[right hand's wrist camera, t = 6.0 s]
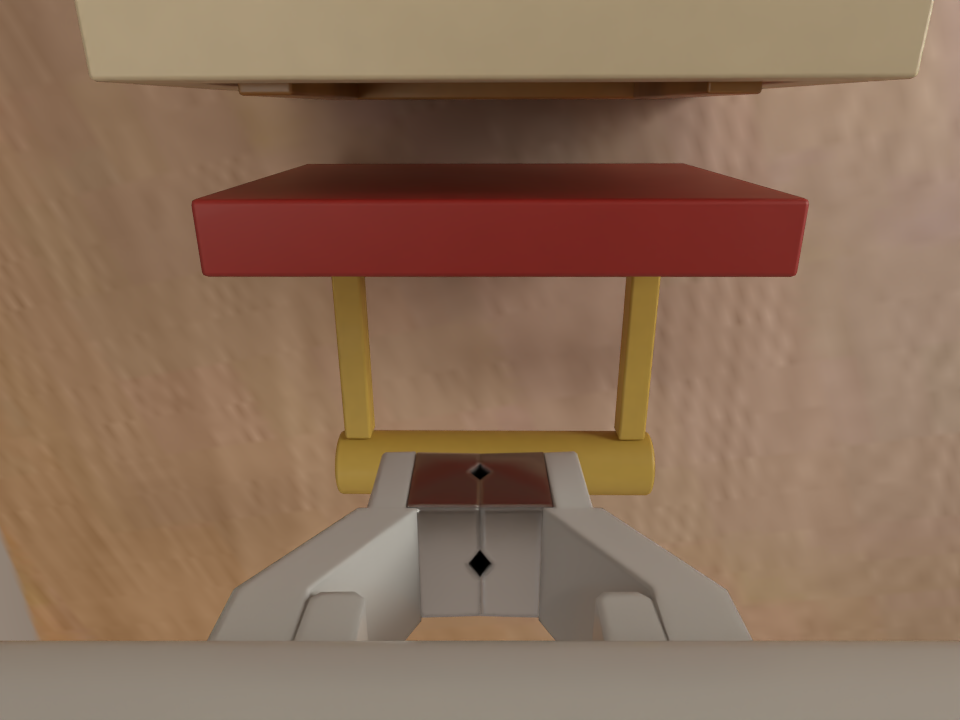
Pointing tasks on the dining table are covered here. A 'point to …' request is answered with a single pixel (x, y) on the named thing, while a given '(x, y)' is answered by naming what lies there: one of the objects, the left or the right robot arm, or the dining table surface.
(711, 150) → the dining table surface
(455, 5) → the cabinet
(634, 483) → the drawer
